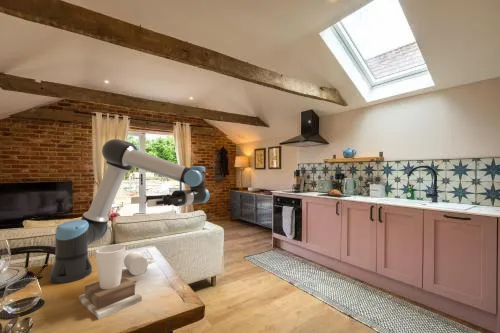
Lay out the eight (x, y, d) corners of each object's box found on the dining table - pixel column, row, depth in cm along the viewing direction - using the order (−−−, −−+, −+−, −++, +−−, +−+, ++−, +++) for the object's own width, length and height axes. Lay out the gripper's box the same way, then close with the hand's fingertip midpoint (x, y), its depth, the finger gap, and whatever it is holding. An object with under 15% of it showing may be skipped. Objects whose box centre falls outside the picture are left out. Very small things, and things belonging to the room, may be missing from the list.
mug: (129, 277, 105) (129, 259, 105) (123, 270, 113) (123, 253, 113) (156, 270, 113) (157, 253, 113) (149, 264, 121) (150, 248, 121)
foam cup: (95, 294, 80) (96, 255, 81) (94, 283, 88) (94, 247, 88) (127, 286, 86) (127, 249, 86) (123, 276, 94) (123, 243, 94)
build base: (78, 300, 87) (79, 284, 87) (119, 285, 98) (119, 272, 98) (98, 319, 76) (98, 301, 76) (141, 300, 87) (141, 285, 87)
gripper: (198, 208, 109) (155, 214, 93) (167, 203, 125) (125, 207, 108) (198, 191, 109) (155, 195, 93) (167, 188, 125) (125, 191, 108)
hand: (139, 201), depth 100 cm, fingers open, 13 cm apart
